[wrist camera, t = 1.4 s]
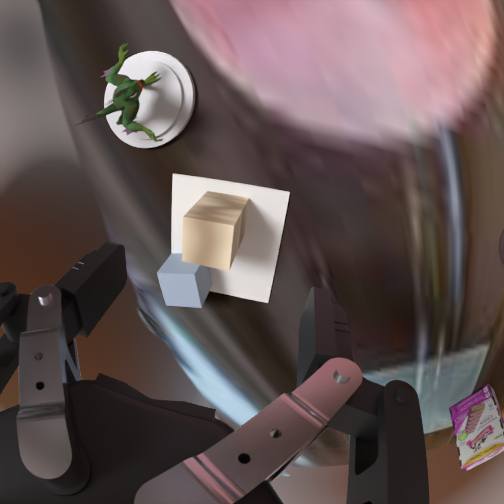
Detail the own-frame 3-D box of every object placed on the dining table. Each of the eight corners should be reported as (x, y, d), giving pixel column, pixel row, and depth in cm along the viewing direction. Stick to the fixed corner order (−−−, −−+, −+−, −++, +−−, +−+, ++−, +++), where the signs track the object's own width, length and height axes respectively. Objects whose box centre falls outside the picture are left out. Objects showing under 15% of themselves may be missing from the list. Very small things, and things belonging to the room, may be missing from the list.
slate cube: (206, 253, 39) (194, 274, 35) (212, 285, 42) (201, 307, 38) (172, 253, 40) (156, 272, 36) (179, 283, 43) (166, 305, 38)
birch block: (248, 197, 35) (234, 225, 28) (243, 236, 37) (229, 270, 30) (207, 190, 35) (183, 216, 28) (204, 228, 38) (182, 261, 31)
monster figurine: (210, 123, 32) (174, 136, 23) (128, 161, 35) (78, 186, 26) (174, 34, 27) (128, 18, 18) (96, 82, 30) (40, 87, 21)
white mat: (289, 192, 34) (289, 192, 34) (268, 302, 42) (268, 303, 42) (173, 173, 35) (172, 173, 35) (172, 281, 43) (172, 282, 43)
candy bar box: (488, 381, 45) (508, 443, 30) (493, 388, 45) (512, 446, 31) (447, 408, 50) (460, 469, 36) (454, 413, 51) (467, 471, 37)
